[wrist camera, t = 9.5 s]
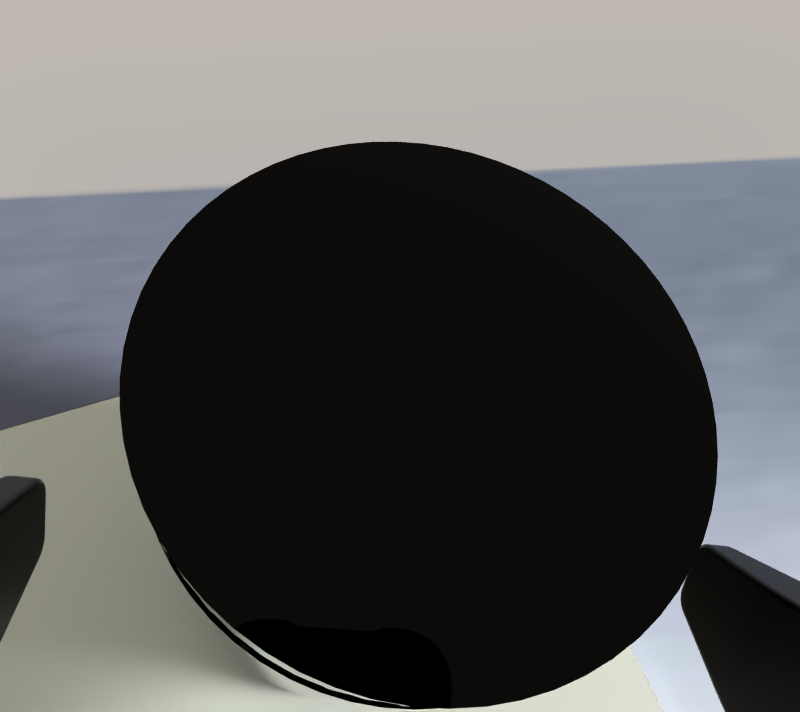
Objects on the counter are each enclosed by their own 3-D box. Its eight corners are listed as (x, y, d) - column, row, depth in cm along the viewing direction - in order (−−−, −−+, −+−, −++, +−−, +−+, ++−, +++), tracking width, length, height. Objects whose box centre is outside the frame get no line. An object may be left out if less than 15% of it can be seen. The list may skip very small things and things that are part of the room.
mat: (-207, 1289, 10) (-232, 1320, 10) (-254, 515, 15) (-273, 509, 14) (667, 743, 17) (680, 745, 16) (448, 310, 21) (452, 300, 21)
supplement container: (510, 508, 18) (778, 313, 9) (384, 766, 15) (599, 881, 6) (299, 376, 18) (345, 63, 9) (132, 596, 15) (-49, 448, 6)
